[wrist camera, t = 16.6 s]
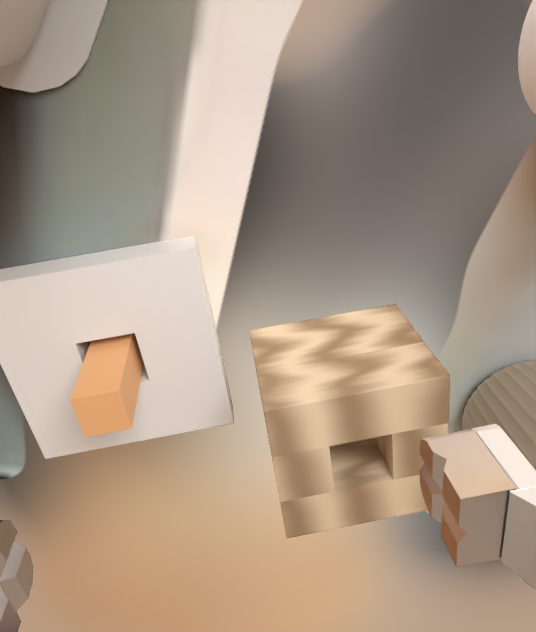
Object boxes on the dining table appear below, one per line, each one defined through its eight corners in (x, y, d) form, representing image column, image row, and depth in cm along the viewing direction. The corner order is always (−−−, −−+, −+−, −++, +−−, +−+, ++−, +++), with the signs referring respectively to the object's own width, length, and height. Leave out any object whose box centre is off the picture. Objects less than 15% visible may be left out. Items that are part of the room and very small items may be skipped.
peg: (134, 324, 46) (118, 390, 37) (144, 357, 48) (132, 428, 39) (94, 331, 46) (69, 399, 37) (106, 364, 48) (85, 437, 39)
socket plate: (195, 235, 43) (195, 247, 40) (232, 403, 52) (234, 423, 49) (-21, 272, 42) (-36, 288, 40) (53, 437, 51) (45, 458, 48)
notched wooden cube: (395, 304, 48) (450, 376, 38) (397, 418, 55) (445, 506, 45) (249, 330, 48) (263, 411, 37) (269, 442, 55) (286, 538, 44)
